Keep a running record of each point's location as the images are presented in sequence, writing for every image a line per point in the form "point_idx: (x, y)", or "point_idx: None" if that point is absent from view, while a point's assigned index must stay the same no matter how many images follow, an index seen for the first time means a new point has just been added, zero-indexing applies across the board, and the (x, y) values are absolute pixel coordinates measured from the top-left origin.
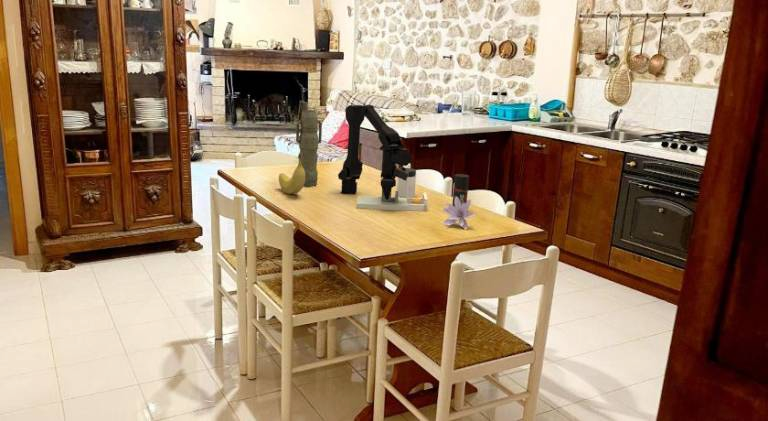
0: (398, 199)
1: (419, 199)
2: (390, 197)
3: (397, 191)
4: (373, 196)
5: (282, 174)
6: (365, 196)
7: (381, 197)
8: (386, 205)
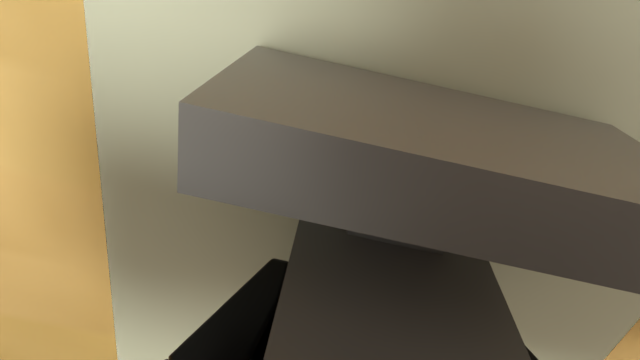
0: (255, 25)
1: None
2: (496, 299)
3: (284, 154)
4: (126, 351)
5: None
6: None
7: (157, 281)
8: (629, 316)
